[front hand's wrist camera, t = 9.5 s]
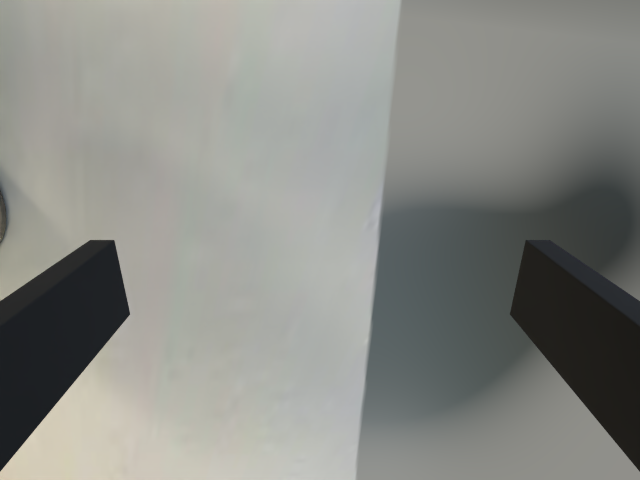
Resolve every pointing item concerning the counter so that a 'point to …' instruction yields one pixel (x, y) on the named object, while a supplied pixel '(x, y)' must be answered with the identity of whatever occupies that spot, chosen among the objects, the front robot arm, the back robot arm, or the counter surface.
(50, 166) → the counter surface
